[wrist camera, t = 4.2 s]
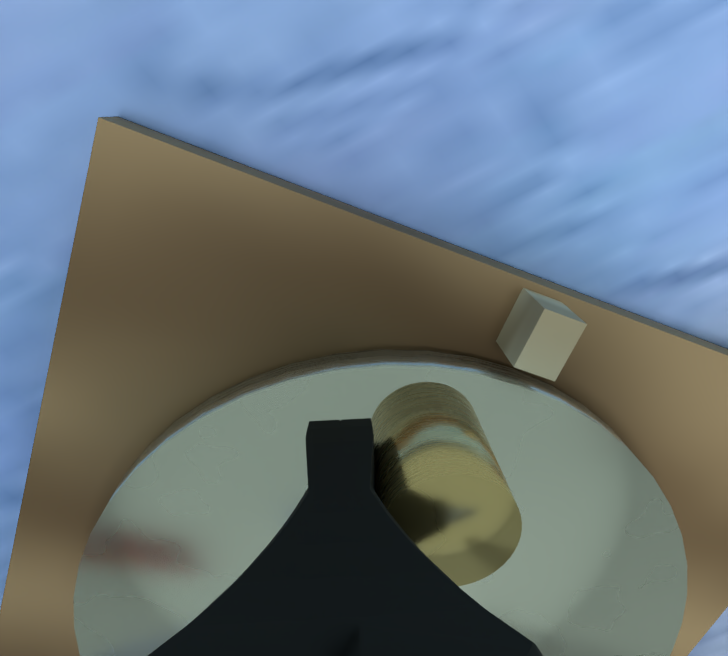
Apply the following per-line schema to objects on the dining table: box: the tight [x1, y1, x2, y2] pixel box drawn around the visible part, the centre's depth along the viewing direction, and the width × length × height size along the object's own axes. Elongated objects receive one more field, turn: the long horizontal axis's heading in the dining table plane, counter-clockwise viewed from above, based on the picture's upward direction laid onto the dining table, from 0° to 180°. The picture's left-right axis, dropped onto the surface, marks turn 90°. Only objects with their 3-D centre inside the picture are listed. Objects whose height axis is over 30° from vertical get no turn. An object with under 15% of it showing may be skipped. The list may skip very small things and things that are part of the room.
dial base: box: [0, 117, 728, 656], centre depth 16 cm, size 20×20×2 cm
